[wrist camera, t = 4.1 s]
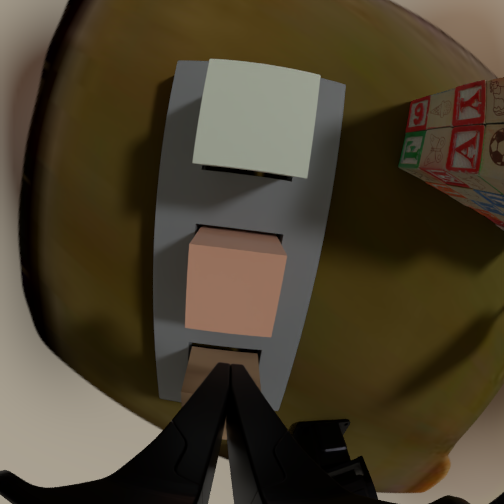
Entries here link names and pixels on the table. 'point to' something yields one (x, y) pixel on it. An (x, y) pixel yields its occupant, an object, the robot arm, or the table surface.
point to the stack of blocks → (460, 145)
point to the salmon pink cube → (234, 281)
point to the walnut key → (206, 361)
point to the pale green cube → (257, 118)
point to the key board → (241, 217)
